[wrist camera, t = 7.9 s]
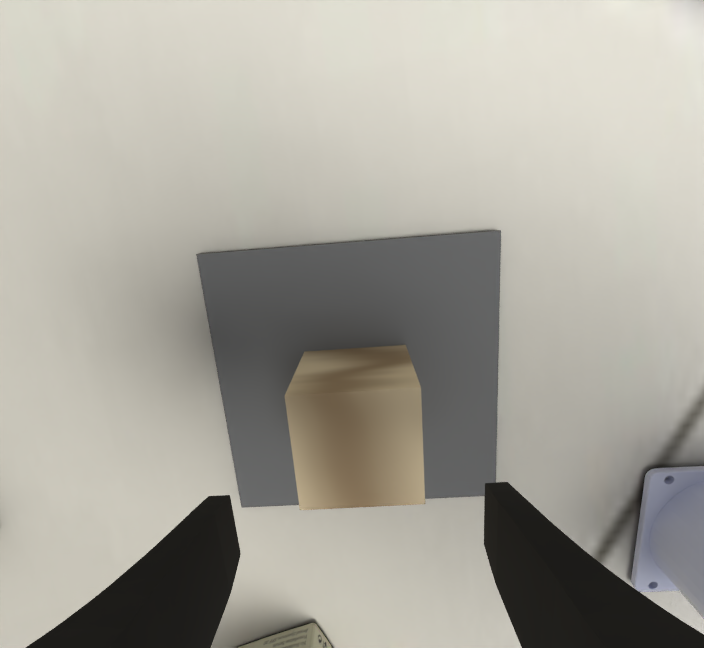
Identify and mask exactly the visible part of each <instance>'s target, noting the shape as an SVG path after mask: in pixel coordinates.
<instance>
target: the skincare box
mask: <svg viewBox="0 0 704 648" xmlns="http://www.w3.org/2000/svg"><path fill="white" fill-rule="evenodd" d="M237 648H332V647H331V645H330V644H329V642H328V640H327V639H326V638H325V636H324V635H323V633H322V632H321V630H320V629H319V628H318V626H317V625H316V624H315V623H310V624H307V625H304V626H301V627H297V628H294V629H291V630H288V631H284V632H281V633H278V634H275V635H272V636H269V637H266V638H263V639H260V640H257V641H254V642H252V643H249V644H246V645H243V646H240V647H237Z"/></svg>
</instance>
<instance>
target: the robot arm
mask: <svg viewBox="0 0 704 648" xmlns="http://www.w3.org/2000/svg"><path fill="white" fill-rule="evenodd" d="M667 476H668V477H667ZM666 477H667V478H666ZM665 478H666V479H665ZM484 545H485V549H486V552H487V556H488V559H489V563H490V566H491V570H492V573H493V576H494V579H495V583H496V585H497V588H498V590H499V593H500V595H501V598H502V600H503V603H504V605H505V608H506V610H507V613H508V615H509V617H510V620H511V622H512V625H513V627H514V629H515V632H516V634H517V637H518V639H519V641H520V644H521V646H522V648H704V635H703V634H702V633H700V632H699V631H697V630H695V629H694V628H692V627H691V626H689V625H687V624H686V623H684V622H683V621H681V620H679V619H678V618H676V617H675V616H673V615H672V614H670V613H669V612H667V611H666V610H664V609H663V608H661V607H660V606H658V605H657V604H655V603H654V602H653V601H651V600H650V599H648V598H647V597H645V596H644V595H643V594H641V593H640V592H653V591H680V592H681V593H682V594H683V595H684V597H685V598H686V599H687V600H688V601H689V602H690V604H691V605H692V606H693V607H694V608H695V609H696V610H697V612H698V613H699V614H700V615H701V616H702V617H703V619H704V466H692V467H672V468H655V469H651V470H649V471H648V472H647V473H646V476H645V481H644V488H643V496H642V503H641V510H640V518H639V525H638V533H637V540H636V547H635V555H634V562H633V569H632V577H631V583H632V585H633V586H634V587H635V589H636V590H635V589H634V588H633V587H631V586H630V585H628V584H627V583H626V582H624V581H623V580H621V579H620V578H619V577H617V576H616V575H615V574H613V573H612V572H611V571H609V570H608V569H607V568H606V567H604V566H603V565H602V564H601V563H599V562H598V561H597V560H596V559H594V558H593V557H592V556H590V555H589V554H588V553H587V552H585V551H584V550H583V549H582V548H581V547H579V546H578V545H577V544H576V543H574V542H573V541H572V540H571V539H570V538H569V537H568V536H566V535H565V534H564V533H563V532H562V531H561V530H559V529H558V528H557V527H556V526H555V525H554V524H553V523H551V522H550V521H549V520H548V519H547V518H546V517H545V516H544V515H543V514H541V513H540V512H539V511H538V510H537V509H536V508H535V507H534V506H533V505H532V504H531V503H529V502H528V501H527V500H526V499H525V498H524V497H523V496H522V495H521V494H520V493H519V492H518V491H516V490H515V489H514V488H513V487H512V486H511V485H510V484H509V483H508V482H500V483H485V515H484ZM239 558H240V548H239V543H238V537H237V532H236V527H235V521H234V516H233V510H232V505H231V499H230V495H225V496H209V497H208V498H206V499H205V500H204V501H203V502H202V503H201V504H200V505H199V506H198V507H196V508H195V509H194V510H193V511H192V512H191V513H190V514H189V515H188V516H187V517H186V518H185V519H184V520H183V521H182V522H181V523H179V524H178V525H177V526H176V527H175V528H174V529H173V530H172V531H171V532H170V533H169V534H168V535H167V536H166V537H164V538H163V539H162V540H161V541H160V542H159V543H158V544H157V545H156V546H155V547H154V548H153V549H151V550H150V551H149V552H148V553H147V554H146V555H145V556H144V557H142V558H141V559H140V560H139V561H138V562H137V563H135V564H134V565H133V566H132V567H131V568H130V569H128V570H127V571H126V572H125V573H124V574H123V575H122V576H120V577H119V578H118V579H117V580H116V581H115V582H113V583H112V584H111V585H110V586H109V587H107V588H106V589H105V590H104V591H102V592H101V593H100V594H99V595H97V596H96V597H95V598H94V599H92V600H91V601H90V602H89V603H87V604H86V605H85V606H83V607H82V608H81V609H79V610H78V611H77V612H75V613H74V614H73V615H71V616H70V617H69V618H67V619H66V620H65V621H63V622H62V623H61V624H59V625H58V626H56V627H55V628H54V629H52V630H51V631H49V632H48V633H46V634H45V635H44V636H42V637H41V638H39V639H38V640H36V641H35V642H33V643H32V644H30V645H29V646H27V647H26V648H210V647H211V645H212V642H213V639H214V637H215V634H216V631H217V629H218V626H219V623H220V621H221V618H222V615H223V613H224V610H225V607H226V604H227V602H228V599H229V596H230V593H231V590H232V586H233V582H234V578H235V575H236V570H237V566H238V562H239ZM637 590H638V591H640V592H638V591H637Z"/></svg>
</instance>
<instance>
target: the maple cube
mask: <svg viewBox="0 0 704 648" xmlns="http://www.w3.org/2000/svg"><path fill="white" fill-rule="evenodd" d="M285 403H286V411H287V418H288V425H289V433H290V440H291V448H292V455H293V462H294V470H295V477H296V485H297V492H298V500H299V507H300V510H312V509H332V508H353V507H373V506H394V505H414V504H425V485H424V457H423V429H422V401H421V386H420V383H419V380H418V378H417V375H416V372H415V369H414V367H413V364H412V361H411V358H410V355H409V353H408V350H407V347H406V345H396V346H381V347H366V348H351V349H336V350H321V351H306V352H304V354H303V356H302V358H301V360H300V362H299V365H298V367H297V369H296V371H295V374H294V376H293V378H292V380H291V382H290V385H289V387H288V389H287V391H286V394H285Z"/></svg>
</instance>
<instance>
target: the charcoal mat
mask: <svg viewBox="0 0 704 648" xmlns="http://www.w3.org/2000/svg"><path fill="white" fill-rule="evenodd" d="M500 252H501V231H499V230H496V231H483V232H470V233H458V234H445V235H432V236H419V237H406V238H394V239H381V240H368V241H355V242H342V243H330V244H317V245H304V246H291V247H278V248H266V249H253V250H240V251H227V252H214V253H202V254H197V260H198V266H199V271H200V277H201V282H202V288H203V294H204V299H205V305H206V310H207V316H208V322H209V327H210V333H211V338H212V344H213V350H214V355H215V361H216V366H217V372H218V378H219V383H220V389H221V394H222V400H223V406H224V411H225V417H226V422H227V428H228V434H229V439H230V445H231V450H232V456H233V462H234V467H235V473H236V478H237V484H238V490H239V495H240V501H241V506H242V507H262V506H283V505H299V500H298V492H297V485H296V477H295V470H294V462H293V455H292V448H291V440H290V433H289V425H288V418H287V411H286V403H285V394H286V391H287V389H288V387H289V385H290V382H291V380H292V378H293V376H294V374H295V371H296V369H297V367H298V365H299V362H300V360H301V358H302V356H303V354H304V352H306V351H321V350H336V349H351V348H366V347H381V346H396V345H406V347H407V350H408V353H409V355H410V358H411V361H412V364H413V367H414V369H415V372H416V375H417V378H418V380H419V383H420V386H421V401H422V429H423V457H424V485H425V499H428V498H449V497H470V496H485V483H496V444H497V396H498V348H499V300H500Z"/></svg>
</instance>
